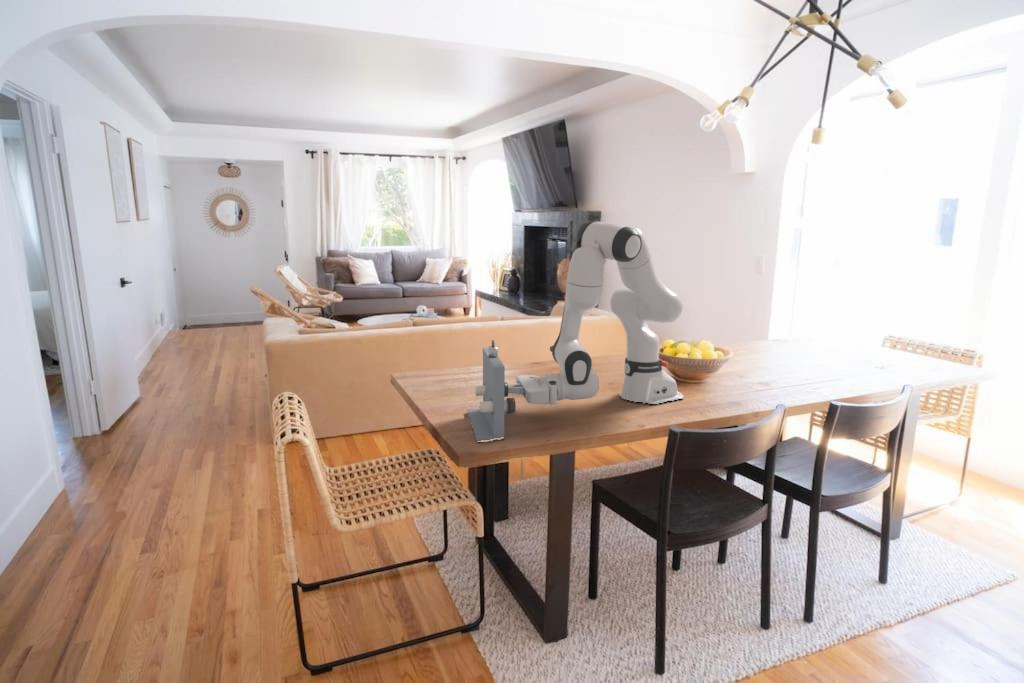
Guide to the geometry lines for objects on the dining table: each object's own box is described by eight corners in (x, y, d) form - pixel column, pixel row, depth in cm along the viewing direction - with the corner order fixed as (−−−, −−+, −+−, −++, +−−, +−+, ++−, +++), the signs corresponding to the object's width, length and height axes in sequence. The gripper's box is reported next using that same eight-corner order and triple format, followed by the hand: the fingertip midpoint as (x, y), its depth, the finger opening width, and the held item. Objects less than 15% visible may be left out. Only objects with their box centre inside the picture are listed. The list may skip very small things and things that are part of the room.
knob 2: (512, 410, 175) (512, 395, 174) (515, 415, 170) (515, 400, 169) (479, 412, 173) (479, 397, 172) (481, 417, 168) (481, 402, 167)
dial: (496, 355, 178) (496, 339, 176) (498, 357, 175) (498, 341, 174) (487, 355, 177) (487, 339, 176) (489, 358, 174) (489, 341, 173)
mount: (491, 411, 193) (491, 346, 189) (504, 441, 168) (505, 367, 164) (467, 412, 192) (466, 347, 187) (477, 443, 167) (476, 368, 162)
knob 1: (505, 394, 190) (505, 380, 189) (508, 398, 186) (508, 384, 185) (475, 395, 188) (475, 381, 187) (476, 400, 184) (476, 386, 183)
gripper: (542, 369, 199) (501, 371, 197) (557, 387, 179) (513, 389, 177) (541, 387, 200) (501, 389, 198) (556, 406, 181) (512, 408, 178)
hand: (507, 389), depth 187 cm, fingers closed, pressing on knob 1
